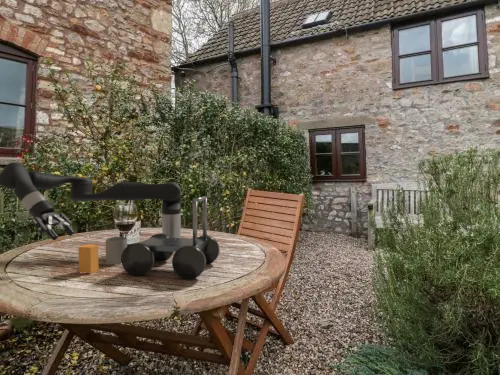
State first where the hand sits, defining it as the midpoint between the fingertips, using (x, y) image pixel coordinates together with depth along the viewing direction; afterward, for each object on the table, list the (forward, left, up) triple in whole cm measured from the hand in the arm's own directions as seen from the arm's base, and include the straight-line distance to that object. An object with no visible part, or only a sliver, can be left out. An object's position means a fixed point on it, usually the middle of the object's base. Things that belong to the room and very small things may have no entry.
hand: (64, 236), depth 125 cm
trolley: (+22, +35, -13) cm, 44 cm away
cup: (-1, +19, -14) cm, 24 cm away
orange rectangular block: (+7, +7, -13) cm, 17 cm away
